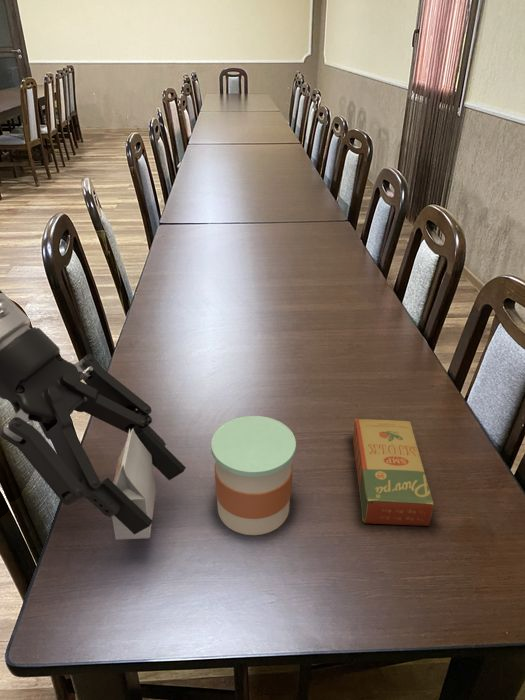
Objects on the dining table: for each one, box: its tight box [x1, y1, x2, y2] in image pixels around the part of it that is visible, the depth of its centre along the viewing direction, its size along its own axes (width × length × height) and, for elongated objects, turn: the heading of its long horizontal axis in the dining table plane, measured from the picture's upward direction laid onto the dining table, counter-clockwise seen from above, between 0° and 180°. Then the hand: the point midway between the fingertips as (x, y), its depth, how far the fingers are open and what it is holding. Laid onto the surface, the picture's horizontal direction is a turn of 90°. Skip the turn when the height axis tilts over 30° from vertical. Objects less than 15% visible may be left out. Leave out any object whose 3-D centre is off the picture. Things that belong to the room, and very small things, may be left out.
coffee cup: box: [210, 415, 297, 536], centre depth 66 cm, size 10×10×11 cm
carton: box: [352, 418, 435, 527], centre depth 72 cm, size 8×16×4 cm, turn 177°
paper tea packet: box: [111, 429, 156, 540], centre depth 59 cm, size 4×7×10 cm, turn 4°
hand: (161, 499), depth 59 cm, fingers closed on paper tea packet, 8 cm apart
